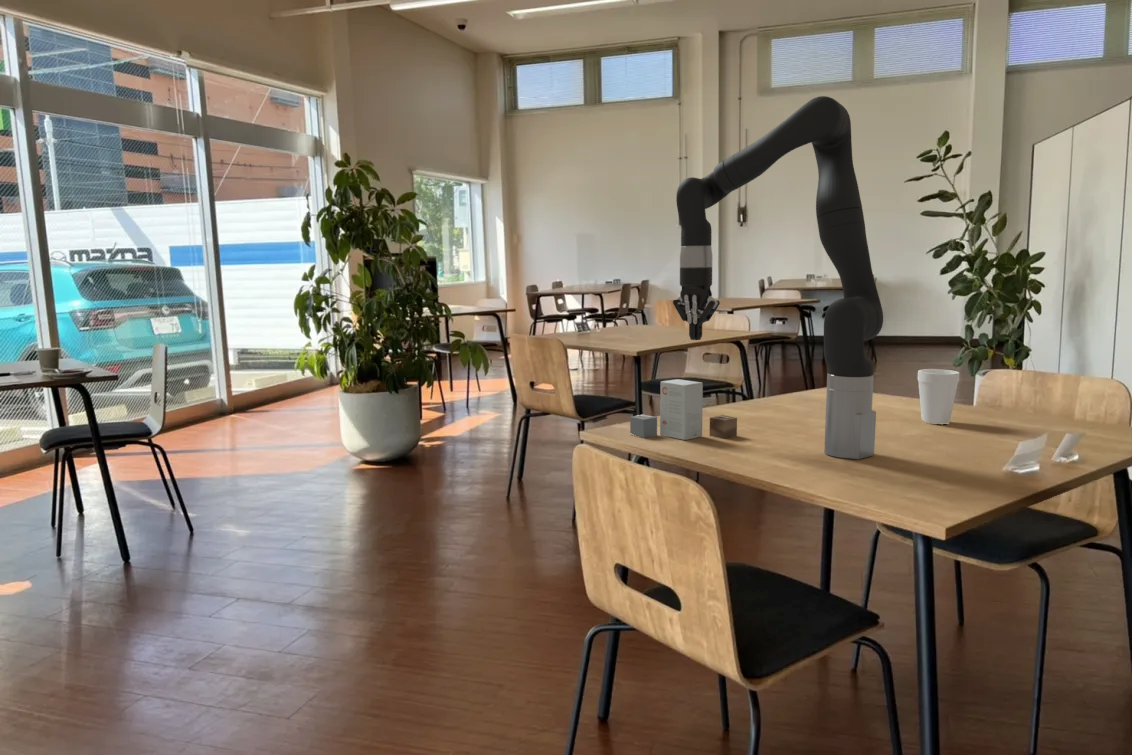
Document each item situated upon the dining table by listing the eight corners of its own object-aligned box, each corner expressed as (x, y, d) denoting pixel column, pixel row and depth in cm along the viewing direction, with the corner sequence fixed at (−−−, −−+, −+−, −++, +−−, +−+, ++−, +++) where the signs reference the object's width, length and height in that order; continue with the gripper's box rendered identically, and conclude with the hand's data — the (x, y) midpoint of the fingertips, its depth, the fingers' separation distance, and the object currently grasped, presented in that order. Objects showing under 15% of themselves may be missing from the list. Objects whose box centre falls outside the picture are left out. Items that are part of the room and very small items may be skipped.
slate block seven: (657, 435, 192) (657, 416, 192) (643, 438, 189) (643, 418, 189) (643, 432, 196) (643, 413, 195) (630, 435, 193) (630, 415, 192)
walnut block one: (736, 436, 191) (737, 416, 190) (724, 439, 188) (724, 419, 187) (721, 433, 194) (722, 414, 193) (709, 436, 191) (709, 416, 191)
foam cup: (961, 426, 198) (964, 374, 196) (921, 426, 200) (924, 374, 198) (949, 419, 208) (952, 369, 206) (911, 418, 209) (914, 368, 207)
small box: (702, 436, 190) (703, 382, 188) (684, 440, 186) (685, 385, 184) (677, 431, 196) (677, 378, 194) (659, 435, 192) (659, 381, 190)
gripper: (728, 265, 186) (727, 340, 188) (685, 265, 196) (685, 337, 198) (707, 265, 181) (706, 342, 183) (664, 266, 191) (664, 339, 193)
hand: (695, 339), depth 191 cm, fingers closed
